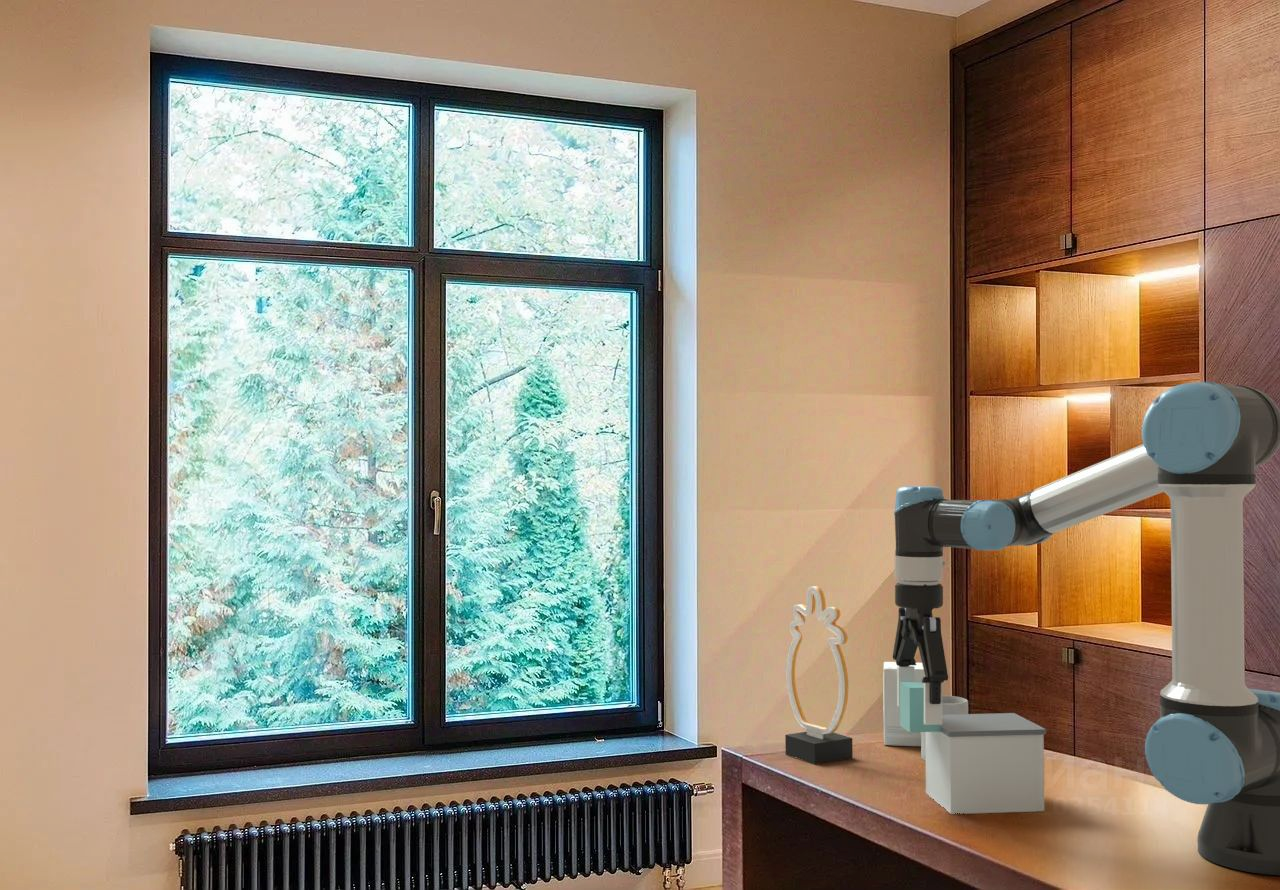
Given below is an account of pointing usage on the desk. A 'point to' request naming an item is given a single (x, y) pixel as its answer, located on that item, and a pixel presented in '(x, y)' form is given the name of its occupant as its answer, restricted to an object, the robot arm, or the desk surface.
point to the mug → (948, 708)
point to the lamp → (821, 740)
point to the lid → (959, 718)
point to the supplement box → (897, 708)
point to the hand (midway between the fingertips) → (919, 715)
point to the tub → (985, 773)
